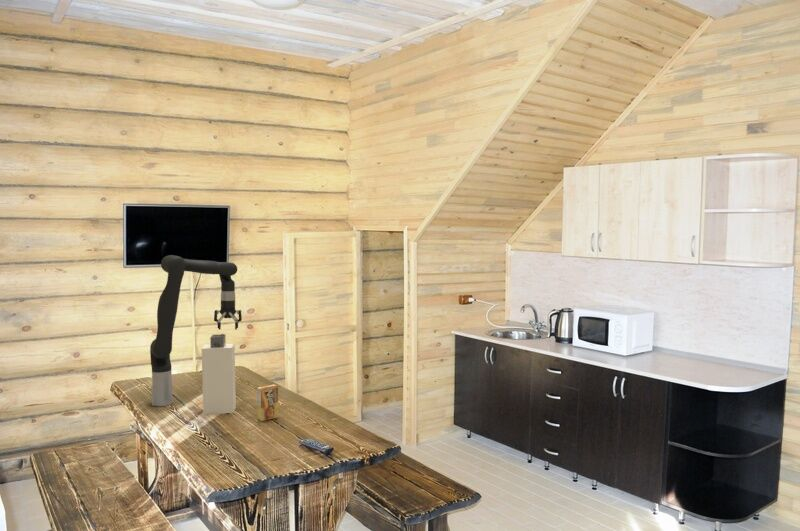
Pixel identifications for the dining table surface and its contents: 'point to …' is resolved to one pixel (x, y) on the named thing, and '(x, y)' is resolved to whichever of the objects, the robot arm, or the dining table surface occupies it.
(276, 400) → the candy box
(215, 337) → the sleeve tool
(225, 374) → the tall beige cuboid
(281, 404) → the dining table surface
